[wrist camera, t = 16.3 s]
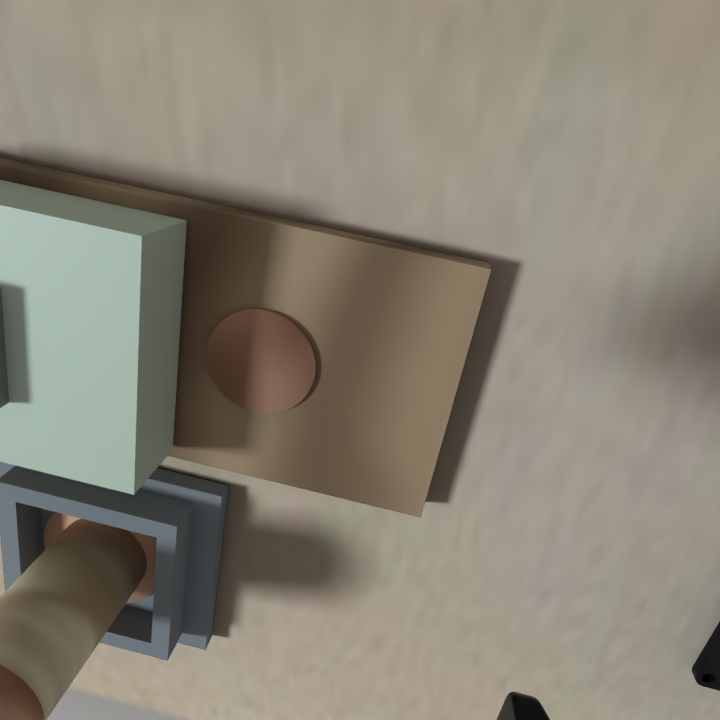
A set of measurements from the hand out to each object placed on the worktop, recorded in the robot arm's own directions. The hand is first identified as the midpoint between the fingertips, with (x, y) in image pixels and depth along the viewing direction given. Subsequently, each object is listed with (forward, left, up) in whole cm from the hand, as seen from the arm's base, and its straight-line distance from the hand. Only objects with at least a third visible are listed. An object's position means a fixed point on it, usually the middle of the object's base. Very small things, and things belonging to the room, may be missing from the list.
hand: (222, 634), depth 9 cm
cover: (+11, +1, -12) cm, 16 cm away
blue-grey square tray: (+9, +12, -13) cm, 20 cm away
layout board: (+6, +1, -13) cm, 14 cm away
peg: (+9, +12, -12) cm, 19 cm away
